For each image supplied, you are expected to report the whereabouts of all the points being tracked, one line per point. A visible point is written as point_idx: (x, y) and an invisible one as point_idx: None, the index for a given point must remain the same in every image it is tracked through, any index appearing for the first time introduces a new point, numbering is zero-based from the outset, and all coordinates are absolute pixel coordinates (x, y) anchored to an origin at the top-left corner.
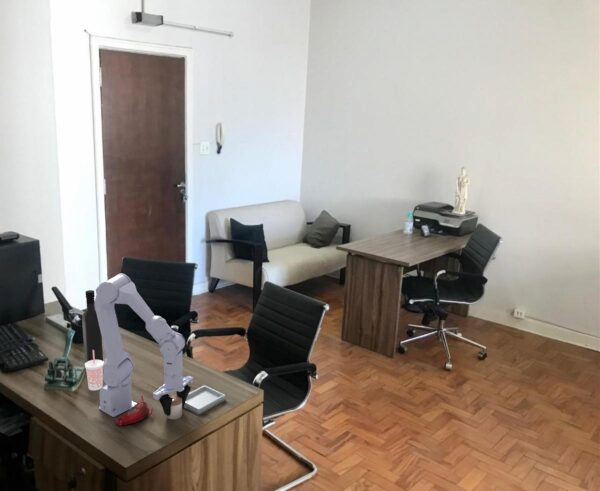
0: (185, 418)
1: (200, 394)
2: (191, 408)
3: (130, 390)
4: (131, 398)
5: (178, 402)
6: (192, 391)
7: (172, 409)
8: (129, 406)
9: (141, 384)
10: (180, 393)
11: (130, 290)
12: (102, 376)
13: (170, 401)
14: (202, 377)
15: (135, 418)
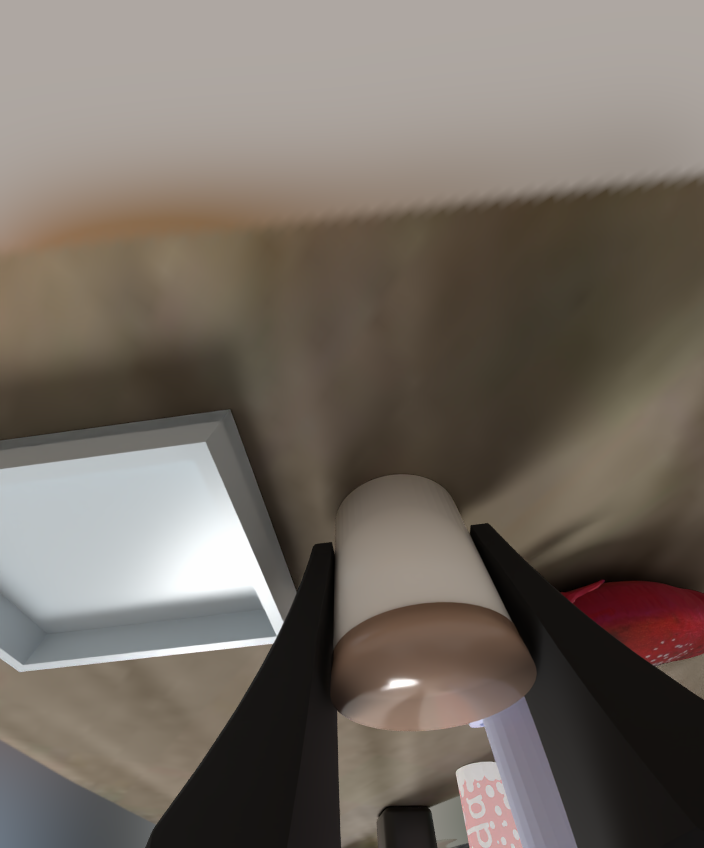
0: (361, 438)
1: (99, 606)
2: (253, 509)
3: (571, 831)
4: (518, 734)
5: (446, 637)
6: (145, 656)
7: (479, 567)
8: None
9: (345, 742)
10: (324, 757)
11: None
12: (480, 839)
13: (660, 732)
14: (38, 698)
15: (678, 609)
